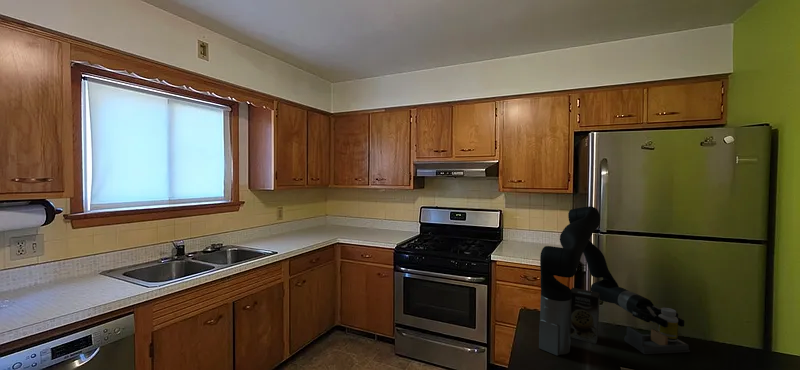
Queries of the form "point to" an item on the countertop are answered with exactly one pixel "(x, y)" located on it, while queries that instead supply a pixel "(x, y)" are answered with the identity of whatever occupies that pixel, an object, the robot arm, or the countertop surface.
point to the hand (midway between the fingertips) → (674, 324)
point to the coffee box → (585, 315)
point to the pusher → (658, 338)
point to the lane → (653, 344)
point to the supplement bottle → (669, 324)
